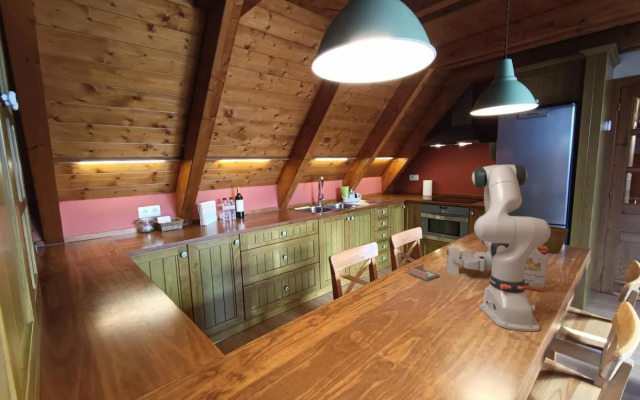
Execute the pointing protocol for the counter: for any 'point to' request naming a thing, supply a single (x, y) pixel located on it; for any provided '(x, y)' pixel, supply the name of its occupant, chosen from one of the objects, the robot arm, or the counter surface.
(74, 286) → the counter surface
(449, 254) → the painted block
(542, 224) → the robot arm
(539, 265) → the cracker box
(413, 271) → the corner arena
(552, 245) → the plant pot
